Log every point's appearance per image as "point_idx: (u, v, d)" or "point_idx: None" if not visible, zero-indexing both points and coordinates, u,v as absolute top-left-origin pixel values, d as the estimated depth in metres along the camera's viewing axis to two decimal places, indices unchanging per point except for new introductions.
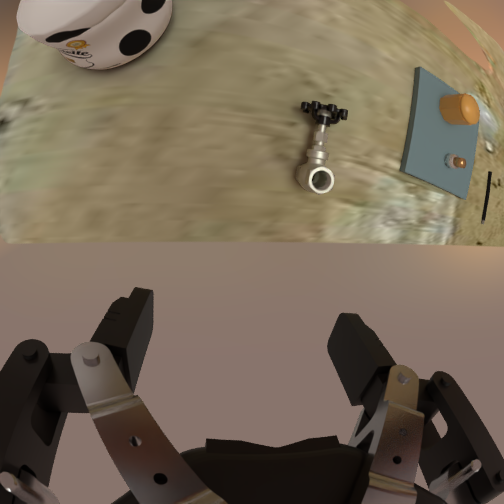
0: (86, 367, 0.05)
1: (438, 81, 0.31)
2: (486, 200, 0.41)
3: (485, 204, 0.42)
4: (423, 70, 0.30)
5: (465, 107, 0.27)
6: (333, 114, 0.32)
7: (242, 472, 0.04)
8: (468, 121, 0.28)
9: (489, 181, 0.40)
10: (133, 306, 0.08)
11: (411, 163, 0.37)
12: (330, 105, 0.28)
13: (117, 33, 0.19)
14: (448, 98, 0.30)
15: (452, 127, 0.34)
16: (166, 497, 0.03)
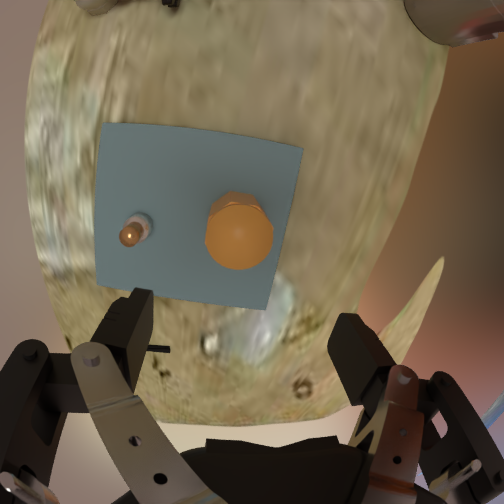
0: (86, 367, 0.05)
1: (287, 192, 0.26)
2: None
3: None
4: (297, 155, 0.24)
5: (236, 216, 0.20)
6: None
7: (242, 472, 0.04)
8: (207, 229, 0.20)
9: (153, 348, 0.33)
10: (133, 306, 0.08)
11: (116, 133, 0.22)
12: None
13: None
14: (253, 199, 0.23)
15: (204, 229, 0.26)
16: (166, 496, 0.03)
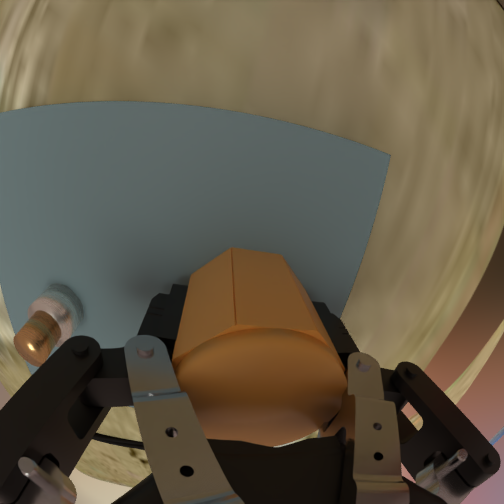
0: (143, 359, 0.06)
1: (352, 249, 0.12)
2: None
3: None
4: (380, 168, 0.10)
5: (253, 374, 0.06)
6: None
7: (242, 472, 0.04)
8: None
9: (126, 444, 0.19)
10: (175, 301, 0.09)
11: (9, 130, 0.08)
12: None
13: None
14: (289, 279, 0.09)
15: None
16: (187, 488, 0.03)
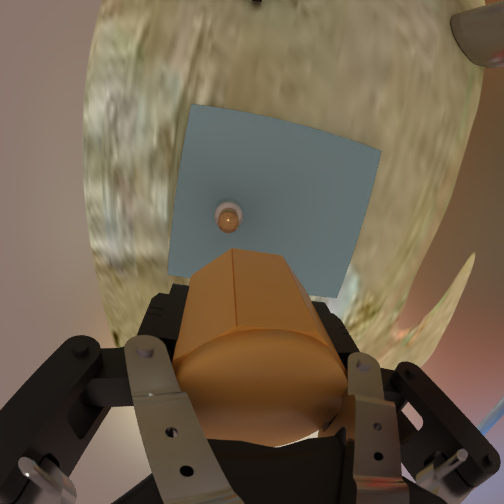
0: (143, 359, 0.06)
1: (366, 189, 0.27)
2: None
3: None
4: (376, 156, 0.25)
5: (254, 375, 0.06)
6: None
7: (242, 472, 0.04)
8: None
9: None
10: (175, 301, 0.09)
11: (207, 116, 0.23)
12: None
13: None
14: (289, 280, 0.09)
15: (292, 219, 0.28)
16: (187, 489, 0.03)
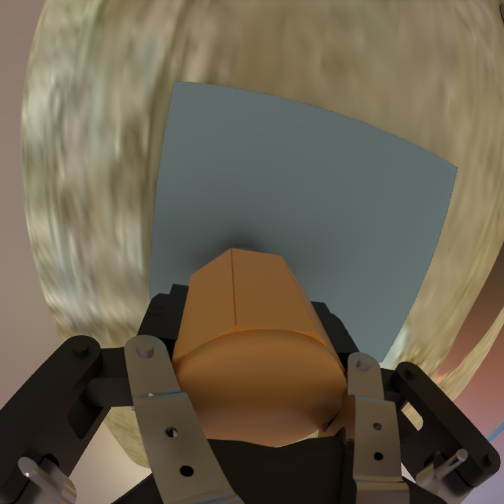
0: (143, 359, 0.06)
1: (438, 222, 0.17)
2: None
3: None
4: (452, 175, 0.15)
5: (253, 375, 0.06)
6: None
7: (242, 472, 0.04)
8: None
9: None
10: (175, 301, 0.09)
11: (203, 101, 0.13)
12: None
13: None
14: (289, 280, 0.09)
15: (339, 271, 0.17)
16: (187, 489, 0.03)
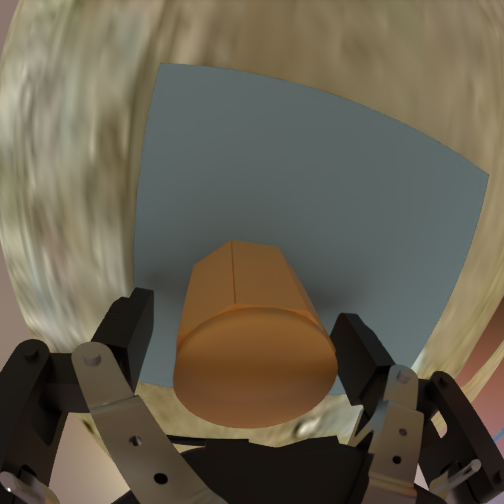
0: (87, 367, 0.05)
1: (467, 237, 0.13)
2: (178, 440, 0.20)
3: (168, 438, 0.20)
4: (484, 183, 0.12)
5: (250, 348, 0.07)
6: None
7: (242, 472, 0.04)
8: None
9: None
10: (134, 306, 0.08)
11: (195, 87, 0.09)
12: None
13: None
14: (284, 268, 0.10)
15: (360, 298, 0.14)
16: (167, 497, 0.03)
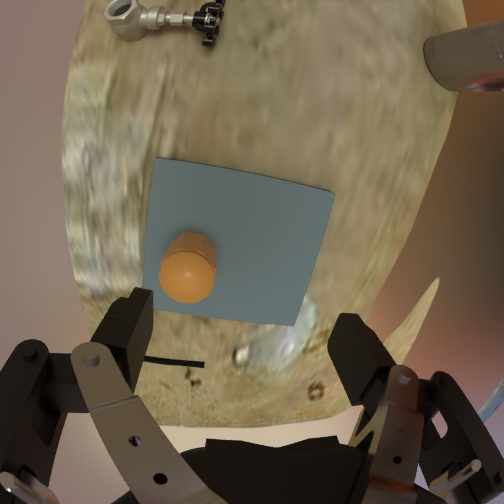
0: (86, 367, 0.05)
1: (319, 230, 0.31)
2: (160, 360, 0.36)
3: (154, 359, 0.36)
4: (330, 199, 0.29)
5: (182, 261, 0.24)
6: None
7: (242, 472, 0.04)
8: (160, 270, 0.24)
9: (189, 364, 0.37)
10: (133, 306, 0.08)
11: (169, 169, 0.26)
12: (218, 4, 0.16)
13: None
14: (202, 241, 0.27)
15: (248, 260, 0.31)
16: (166, 497, 0.03)
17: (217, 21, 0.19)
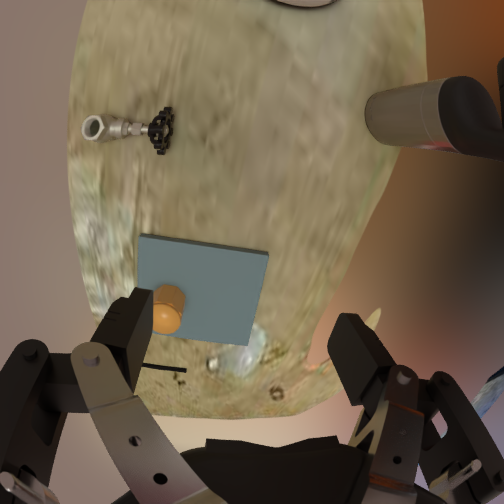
0: (86, 367, 0.05)
1: (258, 282, 0.43)
2: (154, 366, 0.50)
3: (150, 365, 0.49)
4: (265, 260, 0.41)
5: (159, 310, 0.36)
6: (163, 141, 0.33)
7: (242, 472, 0.04)
8: None
9: (175, 369, 0.50)
10: (133, 306, 0.08)
11: (149, 244, 0.39)
12: (161, 126, 0.29)
13: None
14: (173, 293, 0.40)
15: (208, 302, 0.43)
16: (166, 497, 0.03)
17: (166, 132, 0.31)
